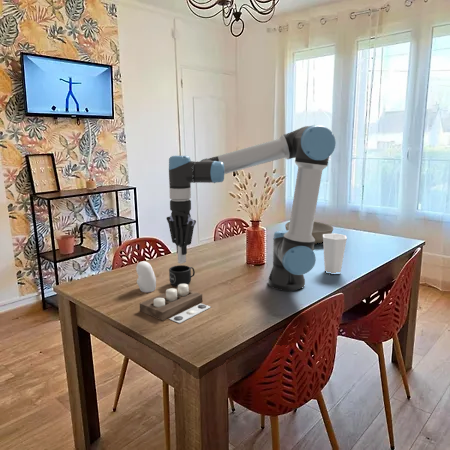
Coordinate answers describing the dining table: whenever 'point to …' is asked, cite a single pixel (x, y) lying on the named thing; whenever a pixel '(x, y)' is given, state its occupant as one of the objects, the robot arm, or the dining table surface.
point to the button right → (183, 290)
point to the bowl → (318, 230)
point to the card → (189, 313)
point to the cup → (333, 251)
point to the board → (170, 305)
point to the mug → (180, 275)
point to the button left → (159, 302)
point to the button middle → (171, 295)
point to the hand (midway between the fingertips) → (182, 262)
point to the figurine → (145, 277)
